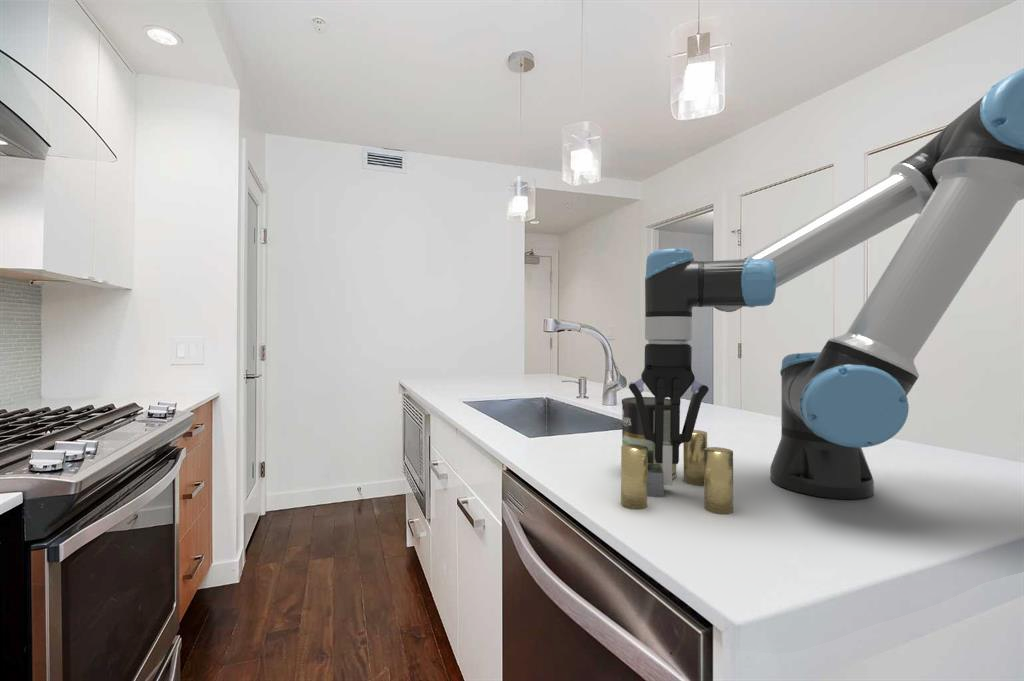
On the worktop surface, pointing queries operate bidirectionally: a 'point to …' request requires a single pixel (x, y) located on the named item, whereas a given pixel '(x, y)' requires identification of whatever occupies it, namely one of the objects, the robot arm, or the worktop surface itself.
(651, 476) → the grey square block
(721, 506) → the brass spacer
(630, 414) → the coffee can
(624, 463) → the brass spacer
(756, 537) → the worktop surface
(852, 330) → the robot arm
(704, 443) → the brass spacer
